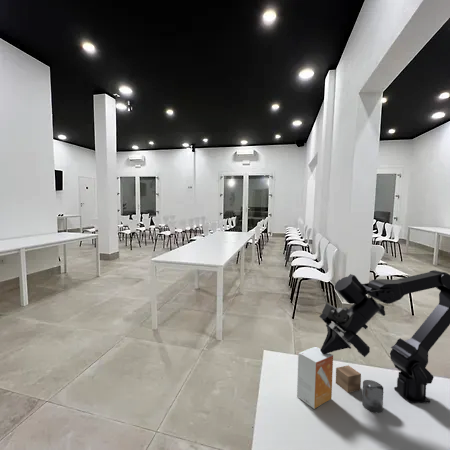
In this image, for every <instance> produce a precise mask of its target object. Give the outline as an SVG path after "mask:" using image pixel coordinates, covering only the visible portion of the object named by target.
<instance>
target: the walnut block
mask: <svg viewBox="0 0 450 450" xmlns="http://www.w3.org/2000/svg"><path fill="white" fill-rule="evenodd" d="M335 384H336V385H337V386H339V387H340V388H341V389H342V390H344V391H345V392H346V393H347V394H348V393H349V394H351V393H353V392H357V391H362V390H361V388H362V387H361V386H362V385H361V384H362V373H360V372H359V371H357V370H356V369H355V368H354V367H352V366H350V365H349V364H348V365H343V366H338V367H336V368H335Z"/></svg>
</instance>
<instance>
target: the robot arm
mask: <svg viewBox="0 0 450 450" xmlns="http://www.w3.org/2000/svg"><path fill="white" fill-rule="evenodd" d="M333 288H334V290H335V291H336V292H337V293H338V294H339V295H340V297H342V298H343V299H344V301H346V303H347V304H349V305H351V306H349V308H347V307H343V308H342V307H336V306H334V305H331V304H330V303H327V302H326V303H325V305H324V308H323V309H322V311H321V314H319V318H320V319H321V320H322V321H323V322H324V323H325V324H326V325H325V327H326V328H327V333H326V337H325V339H324V341H323V343H322V346H321V348H320V349H321V350H320V351H321V352H322V353H323V354H327V353H330V354H331V353H333V352H337V351H340V350H341V351H342V350H344V349H352V347H351V345H352V346H353V347H354V349H356V350H357V352H358V353H359V354H360V355H361V356H362V357H363V358H366V357H367V356H369V354H370V353H371V351H370V348H371V347H370V345H368V344H367V343H366V342H365V341H364V340H363V339H362V338H361V337H360V336H359V334H358V333H359V332H360V331H361V330H362V329H364V330H367V329H368V325H367V323H369V321H370V320H372V318H374V316H375V315H376V314H379V315H381V316H384V317H385V316H386V310H385V305H386V304H387V305H389V304H393V303H395V302H398V301H399V300H401V299H403V297H404V296H405V295H409V294H412V293H418V292H422V291H425V290H430V289H434V288H435V289H437V290H439V291H440V292H439V294H438V304H437V305H436V306H435V308H434V309H433V310H432V311H431V313H430V314H429V315H428V316H427V318H426V319H425V320H424V321H423V322H422V324H420V326H419V327H418V329H416V331H415V332H414V334H413V335H412V336H411V337H410V338H409V339H408V338H407V339H406V340H404V339H402V338H401V337H400V338H398V339H397V340H396V342H395V343H394V345H392V346H391V347H390V348H391V350H390V351H389V352H390V353H389V355H390V361H392V363H393V365H394V368H395V369H397V370H398V377H397V379H396V386H395V387H393V389H394V391H396V392H397V393H398V394H400V395H401V397H402V398H404V399H405V400H406V401H407V402H409V403H410V404H413V403H414V404H415V403H416V404H417V403H418V404H419V403H420V404H421V403H423V404H424V403H431V399H429V398H428V397H427V386H428V385H429V384H432V383H433V379H434V377H435V376H434V375H433V374H432V373H431V372H430V371H429V370H428V369H427V368H426V367H427V365H428V363H429V352H430V350H431V349H432V347H433V346H434V345H435V344H436V342H437V341H438V340H439V339H440V338H441V337H442V335H443V334H444V332H445V331H446V330H447V329H448V327H450V274H449V273H448V272H445V271H439V270H436V269H435V270H430V271H427V272H424V273H420V274H416V275H410V276H406V277H401V278H397V279H387V278H380V279H379V278H377V279H375V278H374V279H372V280H370V281H369V282H366V283H361V282H360V281H359V279H358V278H357V276H356V275H354V274H351V273H350V274H349V275H348V276H345V277H342V278H341V279H338V280H337V281H336V283H335V285H334V287H333ZM367 295H368V296H369V297H368V296H367ZM376 300H377V301H379V302H380V303H378V302H377V301H376ZM381 303H383V304H385V305H383V304H381Z"/></svg>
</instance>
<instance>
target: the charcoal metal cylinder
mask: <svg viewBox="0 0 450 450" xmlns="http://www.w3.org/2000/svg"><path fill="white" fill-rule="evenodd" d="M361 396H362V397H361V398H362V399H361V400H362V401H361V403H362V407H363V408H364V409H365V410H366V411H368V412H369V413H370V412H371V413H374V414H381V413H383V409H384V408H383V407H384V386H383V385H382V384H381V383H380V382H378V381H375V380H371V379H364V380H363V381H362V394H361Z"/></svg>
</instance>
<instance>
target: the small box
mask: <svg viewBox="0 0 450 450" xmlns="http://www.w3.org/2000/svg"><path fill="white" fill-rule="evenodd" d="M320 350H321V348H319V347H318V346H313V347H311V348H307V349H305V350H303V351H301V352H300V351H299V352H298V354H297V355H298V356H297V385H296V386H297V387H296V398H299V400H301V401H303V402H304V403H305V404H306V405H308V406H309V407H310V408H312V409H314V410H315V409H316V408H318V407H319V406H322V405H323V404H325V403H326V402H328V401H330V400H332V396H333V394H332V393H333V392H332V391H333V373H334V371H333V367H334V354H332V353H331V352H330V353H327V354H323V353H322V352H321V351H320Z"/></svg>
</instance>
